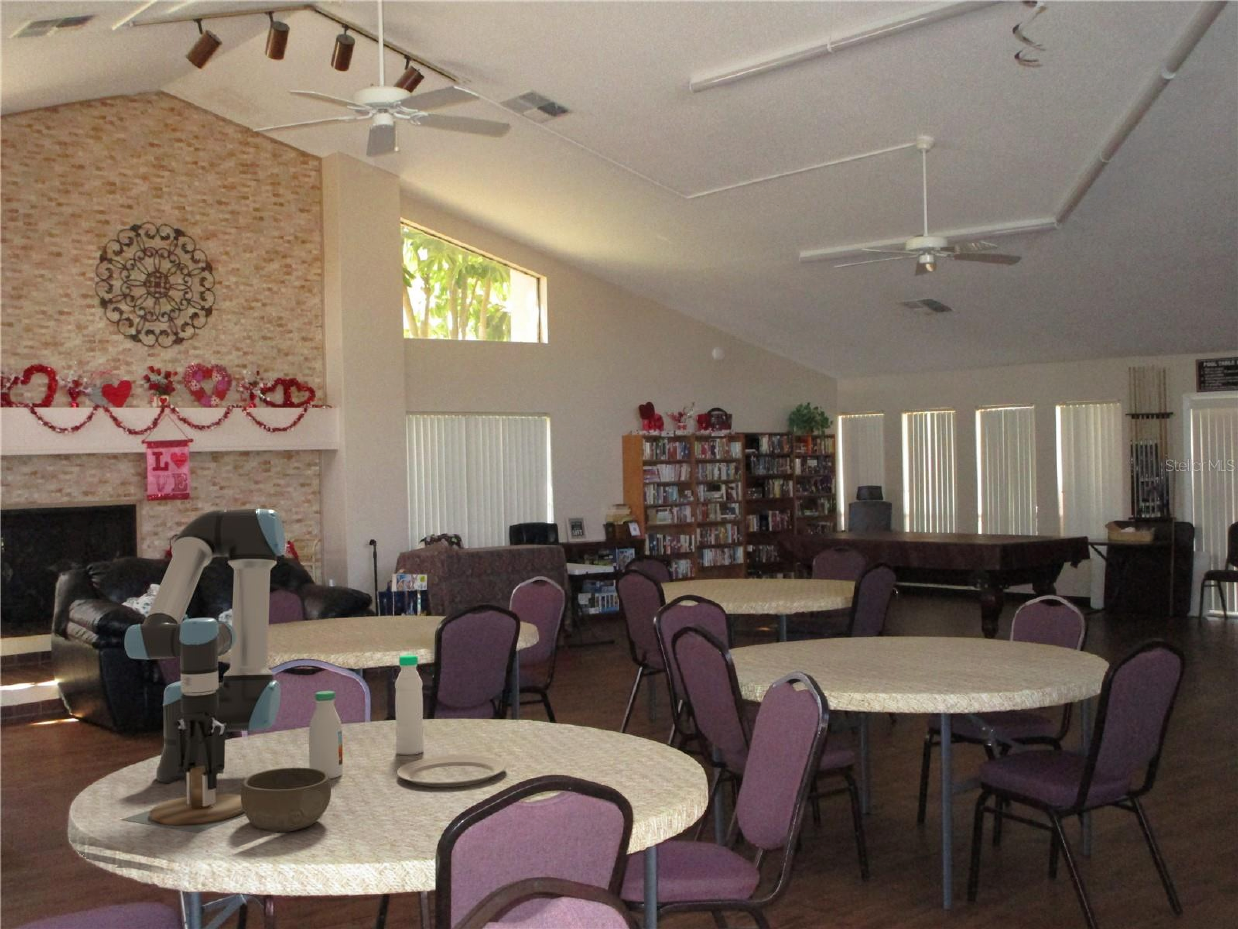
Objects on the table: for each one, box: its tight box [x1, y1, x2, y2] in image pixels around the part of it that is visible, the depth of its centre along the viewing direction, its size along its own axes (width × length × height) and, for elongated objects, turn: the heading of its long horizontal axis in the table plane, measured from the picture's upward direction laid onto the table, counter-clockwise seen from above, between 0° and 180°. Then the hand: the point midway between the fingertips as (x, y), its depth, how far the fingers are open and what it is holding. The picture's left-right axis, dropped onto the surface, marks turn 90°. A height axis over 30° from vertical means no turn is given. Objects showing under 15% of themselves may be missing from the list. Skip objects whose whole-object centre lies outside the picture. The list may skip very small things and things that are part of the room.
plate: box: [396, 754, 506, 788], centre depth 262 cm, size 26×26×2 cm
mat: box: [120, 809, 246, 834], centre depth 233 cm, size 22×22×1 cm
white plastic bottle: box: [394, 654, 425, 756], centre depth 287 cm, size 7×7×25 cm
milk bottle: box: [308, 690, 344, 780], centre depth 264 cm, size 8×8×20 cm
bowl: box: [240, 767, 332, 833], centre depth 225 cm, size 17×18×10 cm
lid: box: [150, 766, 244, 826], centre depth 233 cm, size 20×20×9 cm
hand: (201, 803), depth 233 cm, fingers closed on lid, 4 cm apart
